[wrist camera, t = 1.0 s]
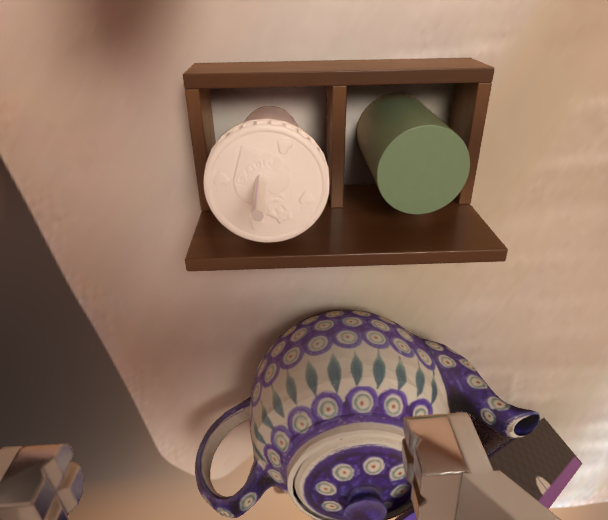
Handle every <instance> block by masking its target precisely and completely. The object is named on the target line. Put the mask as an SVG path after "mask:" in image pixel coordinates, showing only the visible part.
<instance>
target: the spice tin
mask: <svg viewBox="0 0 608 520" xmlns="http://www.w3.org/2000/svg"><path fill="white" fill-rule="evenodd" d="M357 142H358V145H359V148H360V150H361V152H362V154H363V156H364V158H365V161H366V163H367V165H368V167H369V169H370V171H371V174H372V176H373V178H374V180H375V182H376V184H377V186H378V189H379V191H380V193H381V195H382V197H383V198H384V199H385V201H386V202H387V203H388V204H389V205H391V206H392V207H393V208H395V209H397V210H399V211H401V212H404V213H408V214H426V213H430V212H433V211H436V210H438V209H441V208H442V207H444V206H446V205H447V204H449V203H450V202H451V201H452V200H453V199H454V198H455V197H456V196H457V195H458V194H459V193H460V191H461V190H462V188H463V187H464V185H465V183H466V181H467V178H468V175H469V170H470V157H469V152H468V149H467V147H466V145H465V143H464V141H463V140H462V139H461V138H460V137H459V136H458V135H457V134H456V133H455V132H454V131H453V130H452V129H451V128H449V127H448V126H447V125H446V124H445V123H444V122H443V121H441V120H440V119H439V118H438V117H437V116H436V115H435V114H433V113H432V112H431V111H430V110H429V109H428V108H427V107H426V106H424V105H423V104H422V103H421V102H420V101H419V100H417V99H416V98H414V97H412V96H410V95H407V94H402V93H392V94H387V95H384V96H382V97H380V98H378V99H376V100H375V101H373V102H372V103H371V104H370V105H369V106H368V107H367V108H366V109H365V111H364V112H363V114H362V115H361V117H360V120H359V122H358V126H357Z"/></svg>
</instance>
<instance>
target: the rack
mask: <svg viewBox="0 0 608 520" xmlns="http://www.w3.org/2000/svg"><path fill="white" fill-rule="evenodd" d="M493 74H494V67H491V66H489V65H486V64H484V63H482V62H479V61H477V60H474V59H472V58H435V59H385V60H334V61H283V62H233V63H194V64H193V65H192V66H191V67H190V68H189V69H188V70H187V71H186V72H185V73H184V74H183V80H184V87H185V94H186V102H187V109H188V116H189V124H190V131H191V139H192V146H193V154H194V161H195V169H196V176H197V184H198V191H199V199H200V206H201V211H202V212H201V215H200V218H199V221H198V223H197V226H196V229H195V232H194V235H193V238H192V241H191V244H190V246H189V249H188V252H187V255H186V258H185V264H186V270H187V271H212V270H244V269H275V268H307V267H339V266H370V265H402V264H434V263H465V262H497V261H505V260H506V255H507V251H508V249H507V248H506V247H505V245H504V244H503V243H502V242H501V241H500V239H499V238H498V237H497V236H496V235H495V233H494V232H493V231H492V230H491V229H490V227H489V226H488V225H487V224H486V223H485V222H484V220H483V219H482V218H481V217H480V216H479V214H478V213H477V212H476V211H475V210H474V208H473V207H472V206H471V205H470V203H471V198H472V192H473V186H474V181H475V175H476V169H477V164H478V158H479V153H480V147H481V141H482V136H483V130H484V124H485V119H486V113H487V107H488V102H489V96H490V91H491V85H492V83H491V82H492V80H493ZM440 83H455V87H454V94H453V101H452V108H451V115H450V123H449V128H451V129H452V130H453V131H454V132H455V133H456V134H457V135H458V136H459V137H460V138H461V139H462V140H463V141H464V143H465V145H466V147H467V149H468V152H469V157H470V170H469V175H468V178H467V181H466V183H465V185H464V187H463V188H462V190H461V191H460V193H459V194H458V195H457V196H456V197H455V198H454V199H453V200H452V201H451V202H450V203H449V204H447V205H446V206H444V207H442V208H441V209H438V210H436V211H433V212H430V213H426V214H408V213H404V212H401V211H399V210H397V209H395V208H393V207H392V206H391V205H389V204H388V203H387V202H386V201H385V199H384V198H383V197H382V195H381V193H380V191H379V189H378V186H377V184H368V185H344V159H345V127H346V94H347V86H346V85H393V84H440ZM299 86H327V127H326V162H327V165H328V168H329V195H328V199H327V203H326V205H325V208H324V210H323V211H322V213H321V215H320V216H319V218H318V219H317V220H316V221H315V223H314V224H313V225H312V226H311V227H309V228H308V229H307V230H306V231H304V232H303V233H301V234H299V235H297V236H295V237H293V238H291V239H287V240H284V241H279V242H257V241H252V240H248V239H245V238H243V237H240V236H238V235H236V234H234V233H233V232H231V231H230V230H228V229H227V228H226V227H225V226H224V225H222V224H221V223H220V222H219V220H218V219H217V218H216V217H215V215H214V214H213V212H212V211H211V209H210V207H209V205H208V202H207V200H206V196H205V192H204V172H205V167H206V162H207V159H208V157H209V154H210V152H211V149H212V148H213V146H214V145H215V144H216V143H215V134H214V125H213V116H212V106H211V97H210V88H252V87H299Z"/></svg>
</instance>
